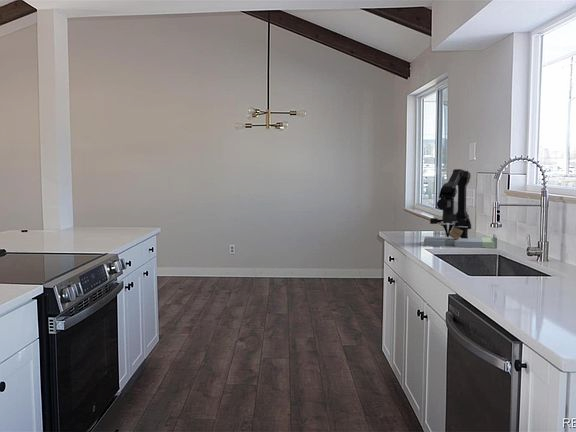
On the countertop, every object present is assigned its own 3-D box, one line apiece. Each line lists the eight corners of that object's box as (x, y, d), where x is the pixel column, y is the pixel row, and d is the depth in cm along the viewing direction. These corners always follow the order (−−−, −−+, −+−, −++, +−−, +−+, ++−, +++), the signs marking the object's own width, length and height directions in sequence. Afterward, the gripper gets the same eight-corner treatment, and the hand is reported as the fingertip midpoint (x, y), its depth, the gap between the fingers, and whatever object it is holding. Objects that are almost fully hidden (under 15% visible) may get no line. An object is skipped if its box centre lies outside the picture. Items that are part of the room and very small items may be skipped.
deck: (425, 241, 310) (425, 232, 310) (494, 243, 299) (495, 233, 298) (423, 245, 293) (423, 236, 292) (496, 248, 282) (497, 237, 281)
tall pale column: (450, 235, 335) (450, 200, 333) (450, 234, 339) (450, 199, 337) (468, 236, 333) (468, 200, 331) (467, 235, 337) (468, 199, 335)
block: (450, 234, 299) (454, 226, 297) (458, 238, 297) (463, 231, 296) (448, 235, 294) (453, 227, 293) (457, 240, 292) (461, 232, 291)
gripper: (429, 209, 291) (429, 238, 293) (466, 209, 286) (465, 239, 287) (430, 207, 302) (430, 235, 303) (466, 208, 296) (465, 236, 297)
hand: (447, 237), depth 297 cm, fingers closed
